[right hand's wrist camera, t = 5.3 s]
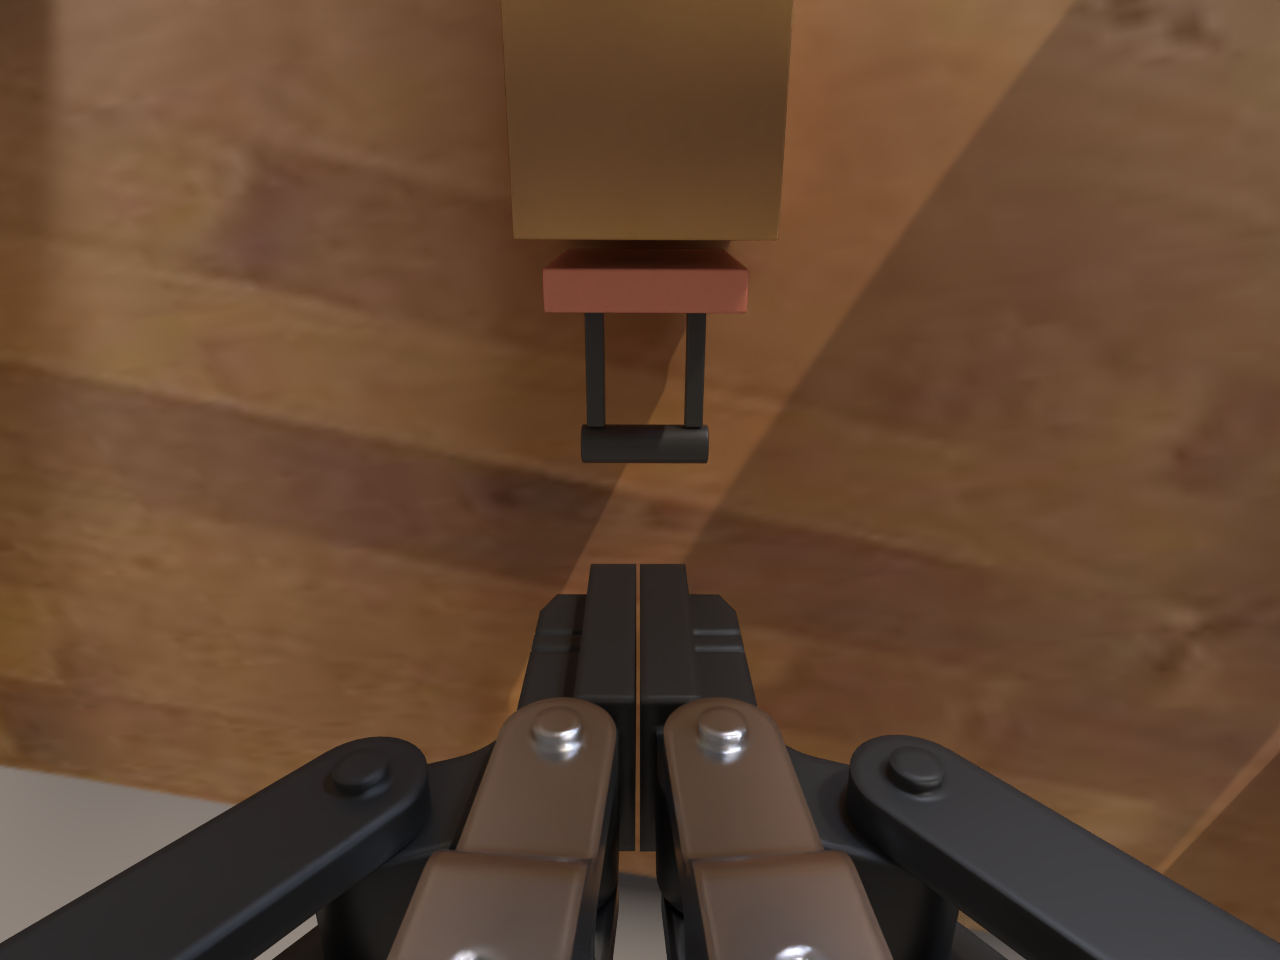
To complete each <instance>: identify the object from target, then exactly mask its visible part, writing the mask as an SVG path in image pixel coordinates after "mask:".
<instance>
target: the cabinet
mask: <svg viewBox="0 0 1280 960" xmlns="http://www.w3.org/2000/svg"><path fill="white" fill-rule="evenodd" d="M501 16H502V35H503V54H504V73H505V92H506V111H507V130H508V149H509V168H510V186H511V205H512V224H513V238H514V239H515V240H778V238H779V223H780V207H781V191H782V175H783V160H784V144H785V128H786V112H787V96H788V80H789V64H790V48H791V32H792V16H793V0H501Z"/></svg>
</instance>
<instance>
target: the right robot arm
mask: <svg viewBox="0 0 1280 960" xmlns="http://www.w3.org/2000/svg"><path fill="white" fill-rule="evenodd" d="M635 775H636V564H591V567H590V575H589V583H588V591H587V594H557V595H556V596H555V597H554V598H553V599H552V600H551V601H550V602H549V603H548V604H547V605H546V606H545V607H544V608H543V609H542V610H541V611H540V614H539V618H538V623H537V627H536V634H535V635H534V640H533V644H532V652H530V657H529V661H528V665H527V669H526V674H525V678H524V682H523V687H522V691H521V695H520V699H519V704H518V708H517V711H516V712H514V713H513V714H512V715H511V716H510V717H509V718H508V719H507V720H506V721H505V723H504V724H503V726H502V728H501V730H500V732H499V735H498V738H497V740H495V741H494V742H492V743H491V744H489V745H488V746H486V747H484V748H482V749H480V750H478V751H475V752H473V753H470V754H467V755H464V756H460V757H457V758H453V759H448V760H444V761H440V762H435V763H431V764H427V762H426V759H425V756H424V755H423V753H422V752H421V750H420V749H419V748H417V747H416V746H415V745H413V744H411V743H410V742H408V741H405V740H402V739H399V738H392V737H369V738H363V739H358V740H354V741H351V742H348V743H345V744H342V745H340V746H337V747H335V748H333V749H331V750H329V751H328V752H326V753H324V754H322V755H321V756H319V757H317V758H315V759H314V760H312V761H310V762H309V763H307V764H305V765H304V766H302V767H300V768H298V769H297V770H295V771H293V772H292V773H290V774H288V775H286V776H285V777H283V778H281V779H280V780H278V781H276V782H275V783H273V784H271V785H269V786H268V787H266V788H264V789H263V790H261V791H259V792H258V793H256V794H254V795H252V796H251V797H249V798H247V799H246V800H244V801H242V802H240V803H239V804H237V805H235V806H234V807H232V808H230V809H229V810H227V811H225V812H223V813H222V814H220V815H218V816H217V817H215V818H213V819H211V820H210V821H208V822H206V823H205V824H203V825H201V826H200V827H198V828H196V829H194V830H193V831H191V832H189V833H188V834H186V835H184V836H182V837H181V838H179V839H177V840H176V841H174V842H172V843H171V844H169V845H167V846H165V847H164V848H162V849H160V850H159V851H157V852H155V853H153V854H152V855H150V856H148V857H147V858H145V859H143V860H142V861H140V862H138V863H137V864H135V865H133V866H131V867H130V868H128V869H126V870H125V871H123V872H121V873H119V874H118V875H116V876H114V877H113V878H111V879H109V880H107V881H106V882H104V883H102V884H101V885H99V886H97V887H96V888H94V889H92V890H90V891H89V892H87V893H85V894H84V895H82V896H80V897H78V898H77V899H75V900H73V901H72V902H70V903H68V904H67V905H65V906H63V907H61V908H60V909H58V910H56V911H55V912H53V913H51V914H49V915H48V916H46V917H44V918H43V919H41V920H39V921H38V922H36V923H34V924H32V925H31V926H29V927H27V928H26V929H24V930H22V931H21V932H19V933H17V934H15V935H14V936H12V937H10V938H9V939H7V940H5V941H4V942H2V943H0V960H254V959H255V958H256V957H258V956H259V955H261V954H262V953H263V952H265V951H266V950H267V949H269V948H270V947H271V946H273V945H274V944H275V943H277V942H278V941H279V940H281V939H282V938H283V937H285V936H286V935H287V934H289V933H290V932H291V931H293V930H294V929H295V928H297V927H298V926H299V925H301V924H302V923H303V922H305V921H306V920H307V919H309V918H310V917H311V916H313V915H314V914H316V917H317V922H318V925H317V926H316V927H315V928H313V929H312V930H311V931H309V932H308V933H307V934H305V935H304V936H303V937H301V938H300V939H299V940H297V941H296V942H295V943H293V944H292V945H291V946H289V947H288V948H287V949H285V950H284V951H283V952H282V953H280V954H279V955H278V956H276V957H275V958H274V959H272V960H613V953H614V944H615V936H616V927H617V918H618V906H619V899H618V865H619V851H635ZM640 851H656V875H657V882H658V885H659V888H660V890H661V892H662V900H661V906H662V918H663V927H664V936H665V944H666V953H667V960H1008V959H1006V958H1005V957H1004V956H1002V955H1001V954H1000V953H998V952H997V951H996V950H994V949H993V948H992V947H990V946H989V945H988V944H987V943H985V942H984V941H983V940H981V939H980V938H979V937H977V936H976V935H975V934H973V933H972V932H971V931H969V930H968V929H967V928H966V927H964V926H963V925H962V924H960V923H959V922H958V921H957V918H958V913H959V910H960V911H962V912H963V913H964V914H966V915H967V916H968V917H970V918H971V919H973V920H974V921H975V922H977V923H978V924H979V925H981V926H982V927H983V928H985V929H986V930H987V931H989V932H990V933H991V934H993V935H994V936H995V937H997V938H998V939H999V940H1001V941H1002V942H1003V943H1005V944H1006V945H1007V946H1009V947H1010V948H1011V949H1013V950H1014V951H1015V952H1017V953H1018V954H1019V955H1021V956H1022V957H1024V958H1025V959H1026V960H1280V943H1278V942H1277V941H1275V940H1273V939H1271V938H1270V937H1268V936H1266V935H1265V934H1263V933H1261V932H1259V931H1258V930H1256V929H1254V928H1253V927H1251V926H1249V925H1248V924H1246V923H1244V922H1242V921H1241V920H1239V919H1237V918H1236V917H1234V916H1232V915H1230V914H1229V913H1227V912H1225V911H1224V910H1222V909H1220V908H1219V907H1217V906H1215V905H1213V904H1212V903H1210V902H1208V901H1207V900H1205V899H1203V898H1201V897H1200V896H1198V895H1196V894H1195V893H1193V892H1191V891H1190V890H1188V889H1186V888H1184V887H1183V886H1181V885H1179V884H1178V883H1176V882H1174V881H1173V880H1171V879H1169V878H1167V877H1166V876H1164V875H1162V874H1161V873H1159V872H1157V871H1155V870H1154V869H1152V868H1150V867H1149V866H1147V865H1145V864H1144V863H1142V862H1140V861H1138V860H1137V859H1135V858H1133V857H1132V856H1130V855H1128V854H1126V853H1125V852H1123V851H1121V850H1120V849H1118V848H1116V847H1115V846H1113V845H1111V844H1109V843H1108V842H1106V841H1104V840H1103V839H1101V838H1099V837H1097V836H1096V835H1094V834H1092V833H1091V832H1089V831H1087V830H1086V829H1084V828H1082V827H1080V826H1079V825H1077V824H1075V823H1074V822H1072V821H1070V820H1069V819H1067V818H1065V817H1063V816H1062V815H1060V814H1058V813H1057V812H1055V811H1053V810H1051V809H1050V808H1048V807H1046V806H1045V805H1043V804H1041V803H1040V802H1038V801H1036V800H1034V799H1033V798H1031V797H1029V796H1028V795H1026V794H1024V793H1022V792H1021V791H1019V790H1017V789H1016V788H1014V787H1012V786H1011V785H1009V784H1007V783H1005V782H1004V781H1002V780H1000V779H999V778H997V777H995V776H993V775H992V774H990V773H988V772H987V771H985V770H983V769H982V768H980V767H978V766H976V765H975V764H973V763H971V762H970V761H968V760H966V759H965V758H963V757H961V756H959V755H958V754H956V753H954V752H953V751H951V750H949V749H947V748H945V747H943V746H941V745H939V744H937V743H934V742H931V741H929V740H925V739H922V738H918V737H912V736H905V735H887V736H880V737H876V738H873V739H870V740H868V741H866V742H864V743H863V744H861V745H860V746H859V747H858V748H857V749H856V750H855V752H854V753H853V755H852V758H851V761H850V765H847V764H842V763H838V762H834V761H829V760H825V759H821V758H817V757H813V756H810V755H806V754H804V753H801V752H799V751H796V750H794V749H792V748H790V747H788V746H786V745H785V743H784V740H783V738H782V735H781V732H780V730H779V728H778V726H777V724H776V723H775V721H774V720H773V719H772V718H771V717H770V716H769V715H768V714H767V713H766V712H764V711H763V710H761V709H760V708H758V707H757V704H756V699H755V695H754V690H753V686H752V682H751V677H750V673H749V668H748V664H747V659H746V655H745V652H744V646H743V642H742V637H741V635H740V628H739V624H738V619H737V615H736V611H735V610H734V609H733V608H732V607H731V606H730V605H729V604H728V603H727V602H726V601H725V600H724V599H723V598H722V597H721V596H720V595H689V593H688V584H687V576H686V567H685V564H640Z"/></svg>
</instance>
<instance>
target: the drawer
mask: <svg viewBox="0 0 1280 960" xmlns="http://www.w3.org/2000/svg"><path fill="white" fill-rule="evenodd" d="M542 272H543V296H544V311H545V312H550V313H585V352H586V397H587V424H584V425H582V429H581V459H582V462H583V463H707V461H708V451H709V434H708V426H707V425H703V395H704V365H705V334H706V313H746V311H747V298H748V278H749V271H748V269H747V268H746V267H744V266H743V265H742V264H741V263H739V262H738V261H737V260H736V259H735V258H733V257H732V256H731V255H730V254H729V253H727V252H726V251H725V250H723V249H567V250H566V251H565V252H563V253H562V254H561V255H560V256H558V257H557V258H556V259H555V260H554V261H552V262H551V263H550V264H549V265H547V266H546V267H545V268H544V269H543V271H542ZM604 313H687V322H686V365H685V407H684V424H685V425H612V424H605V422H606V418H605V345H604Z"/></svg>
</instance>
